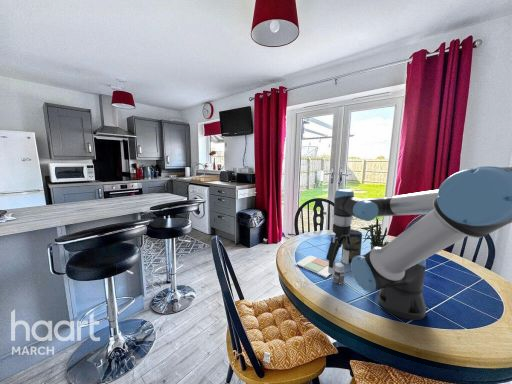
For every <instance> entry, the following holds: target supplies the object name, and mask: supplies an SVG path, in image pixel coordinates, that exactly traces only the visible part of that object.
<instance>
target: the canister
mask: <svg viewBox="0 0 512 384" xmlns="http://www.w3.org/2000/svg"><path fill="white" fill-rule="evenodd" d="M350 238H351V244H352V248H351V249H352V250H351V251H349V261H348V263H350V264H351V261H352V259H353V258H354V257H356V256H358V255H360V256H362V254H361V253H362V240H363V233H362V232H361V231H360V230H357V229H353V228H351V233H350ZM341 247H342V248H341V258H342V257H343V249H344V247H343V245H342V246H341Z"/></svg>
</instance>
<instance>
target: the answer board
mask: <svg viewBox="0 0 512 384" xmlns="http://www.w3.org/2000/svg"><path fill="white" fill-rule="evenodd" d="M296 264H298V265H300V266H302V267H304V268H306V269H308V270H311V271H313V272H315V273H317V274H320V275H322V276H324V277H326V278H327V277H328V276H329V275H331V274H330V273H328V267H329V261H328V260H324V259H322V258H319V257H316V256H313V255H311V254H310V255H308V256H306V257H304V258H303V259H300V260H299V261H297V262H296V263H295V265H296ZM304 268H303V269H304ZM306 269H305V270H306ZM308 270H307V271H308ZM315 273H314V274H315ZM317 274H316V275H317ZM331 276H332V275H331ZM324 277H323V278H324ZM329 277H330V276H329ZM329 277H328V278H329ZM326 278H325V279H326ZM328 278H327V279H328Z"/></svg>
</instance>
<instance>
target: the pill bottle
mask: <svg viewBox="0 0 512 384" xmlns="http://www.w3.org/2000/svg"><path fill="white" fill-rule="evenodd" d="M345 275H346V274H345V264H344V263H343V262H342V263H341V262H336V263H335V275H333V274H332V276H333V277H332V281H333V282H334V283H335V282H336V283H340V284H339V285H343V284H344V283H345ZM336 283H335V284H336ZM342 283H343V284H342Z"/></svg>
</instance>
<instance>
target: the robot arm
mask: <svg viewBox="0 0 512 384" xmlns="http://www.w3.org/2000/svg"><path fill="white" fill-rule="evenodd" d="M333 199H334V200H333V206H334V207H333V215H332V217H333V221H332V232H333V233H334V234H335V235H334V237H333V236H332V237H331V238H330V243H329V247H328V251H327V253H326V257H325V259H326V261H328V262H329V267H328V273H330V274H332V276H333V275H335V264H336V263H337V261H336V258H337V256H338V252H339V250H340V248H341V247H342V245H343V247H344V249H343V257H342V256H341V258H342V259H341V262H342V264H345V265H349V262H348V261H349V251H351V250H352V249H351V248H352V244H351V238H350V233H351V229H352V220H353V218H352V217H355V218H357V219H359V220H360V221H361V220H362V221H365V222H372V221H373V220H374V219H376V217H378V218H379V217H393V216H411V215H414V216H416V215H424V216H422V217H421V218H420V219H418V220H417V221H415V222H414V223H413V224H412V225H410V226H409V227H407V228H406V229H405V230H404V231H403V232H401V233H400V234H399V235H397V236H396V237H394V238H393V239H392V240H390V241H389V242H388V243H386V244H385V245H384V246H375V247H373V248H372V249H371V250H369V251H368V252H367V253H365V254H361V255H358V256H356V257H354V258H353V259H352V261H351V263H350V268H351V269H350V270H351V273H352V276H353V278H354V280H355V282H356V284H357V285H358V286H359V287H361V288H362V289H363V290H364V291H373V292H374V291H376V290H379V291H378V294H377V295H378V296H377V297H378V298H377V300H378V303H379V305H380V306H381V307H382V308H383V309H384V310H386V311H387V312H388V313H390V314H391V315H394V316H396V317H398V318H401V319H405V320H408V321H409V320H410V321H419V320H420V321H421V320H423V319H424V318H425V317H426V314H427V307H426V302H425V299H424V296H423V287H424V281H425V272H426V267H427V259H428V258H431V257H432V256H434V255H436V254H438V253H439V252H442V251H443V250H444V249H446V248H449V247H450V246H452V245H454V244H456V243H457V242H460V241H461V240H463V239H465V238H466V237H469V238H476V239H480V238H483V237H485V236H487V235H489V234H491V233H493V232H496V231H497V230H499V229H502V227H505V226H507V225H509V224H512V166H505V167H504V166H503V167H501V166H500V167H499V166H478V167H472V168H467V169H463V170H459V171H457V172H455V173H453V174H452V175H450V176H449V177H447V178H446V179H444V181H443V182H442V183H441V184H440V185H439V187H438V189H433V190H426V191H419V192H413V193H407V194H399V195H392V196H386V197H368V198H360V197H356V196H355V193H354V190H351V189H343V188H342V189H341V188H339V189H337V190H335V192H334V198H333Z"/></svg>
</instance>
